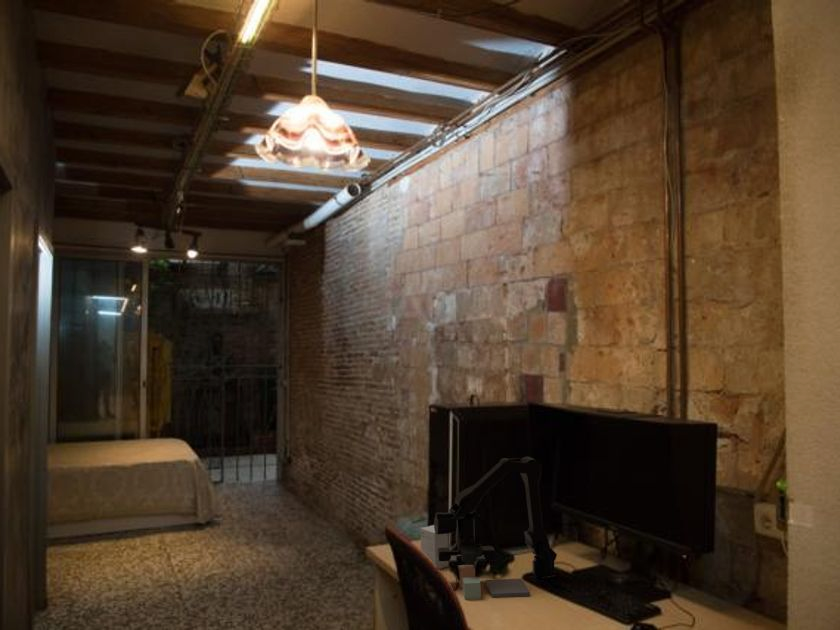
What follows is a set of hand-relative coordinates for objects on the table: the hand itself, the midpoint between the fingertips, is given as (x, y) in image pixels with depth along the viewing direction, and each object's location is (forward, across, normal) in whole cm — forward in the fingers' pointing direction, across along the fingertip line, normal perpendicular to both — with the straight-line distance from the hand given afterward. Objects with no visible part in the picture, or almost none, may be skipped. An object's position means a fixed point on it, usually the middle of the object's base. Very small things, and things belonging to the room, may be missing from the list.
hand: (466, 579), depth 213 cm
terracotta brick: (+1, 0, 0) cm, 1 cm away
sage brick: (+1, 0, -11) cm, 11 cm away
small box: (+1, -9, +18) cm, 20 cm away
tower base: (+1, +12, -7) cm, 14 cm away
